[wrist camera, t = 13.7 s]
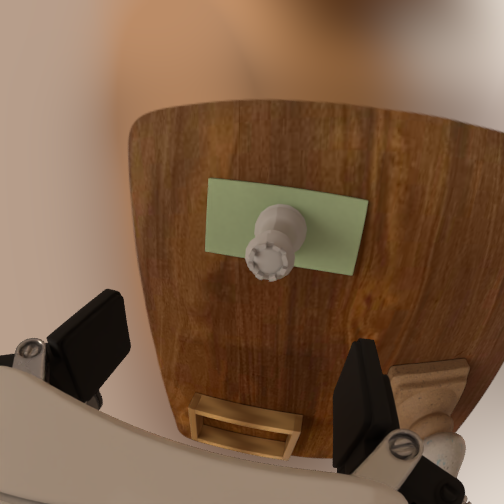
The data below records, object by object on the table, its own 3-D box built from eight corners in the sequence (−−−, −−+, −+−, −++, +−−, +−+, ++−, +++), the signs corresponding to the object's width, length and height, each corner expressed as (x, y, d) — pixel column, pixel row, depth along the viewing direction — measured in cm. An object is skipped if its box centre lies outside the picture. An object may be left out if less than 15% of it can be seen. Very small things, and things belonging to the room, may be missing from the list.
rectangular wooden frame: (197, 425, 40) (191, 439, 37) (195, 392, 36) (187, 407, 34) (290, 445, 37) (288, 460, 35) (303, 414, 34) (300, 432, 31)
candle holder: (441, 412, 30) (466, 552, 8) (372, 420, 32) (373, 577, 10) (467, 357, 26) (525, 520, 4) (389, 365, 29) (413, 566, 7)
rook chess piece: (253, 204, 25) (227, 230, 18) (305, 201, 24) (301, 226, 17) (259, 252, 27) (237, 295, 19) (308, 251, 26) (305, 294, 18)
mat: (206, 249, 28) (204, 251, 28) (210, 177, 25) (208, 178, 25) (351, 273, 26) (352, 275, 25) (367, 199, 23) (368, 200, 23)
